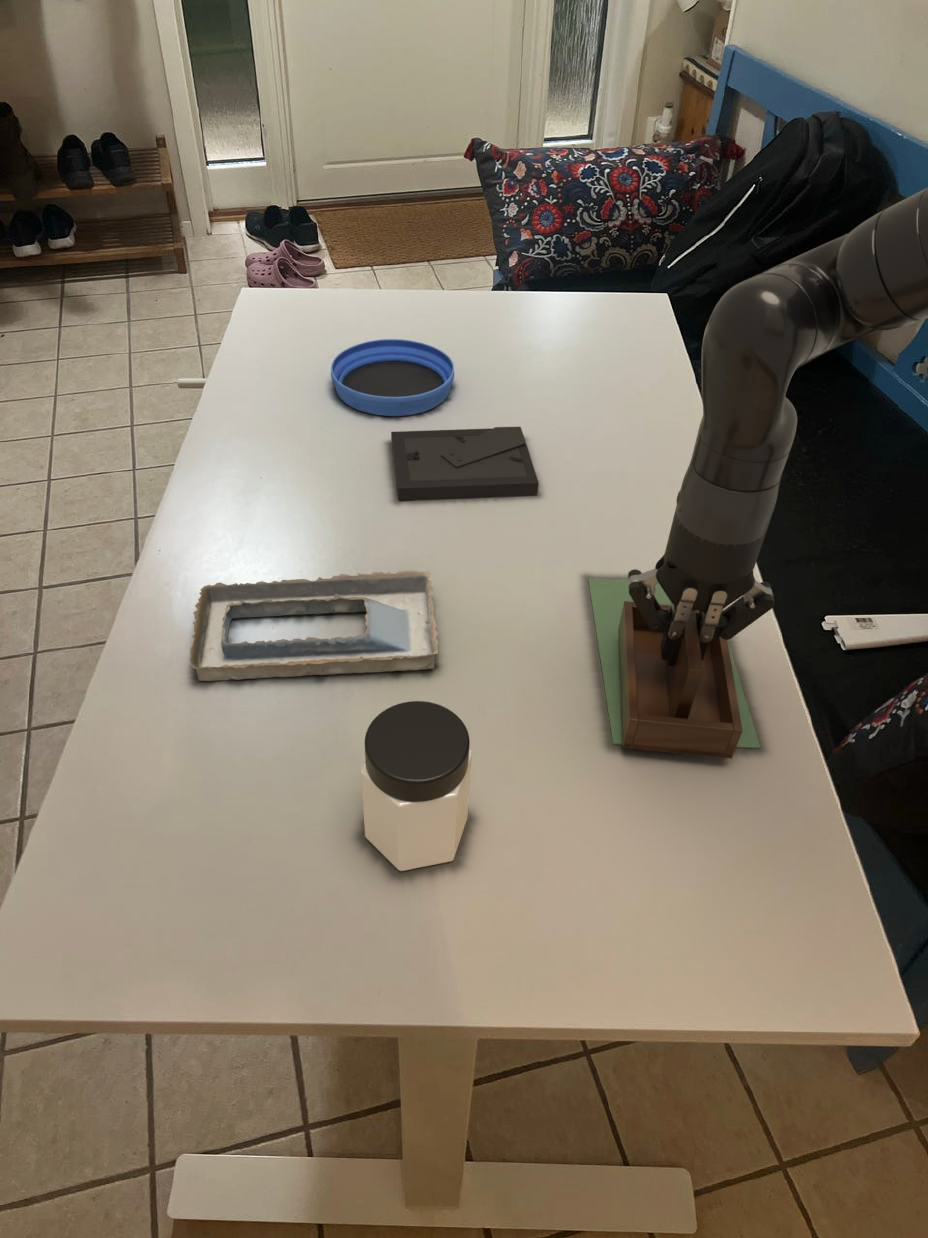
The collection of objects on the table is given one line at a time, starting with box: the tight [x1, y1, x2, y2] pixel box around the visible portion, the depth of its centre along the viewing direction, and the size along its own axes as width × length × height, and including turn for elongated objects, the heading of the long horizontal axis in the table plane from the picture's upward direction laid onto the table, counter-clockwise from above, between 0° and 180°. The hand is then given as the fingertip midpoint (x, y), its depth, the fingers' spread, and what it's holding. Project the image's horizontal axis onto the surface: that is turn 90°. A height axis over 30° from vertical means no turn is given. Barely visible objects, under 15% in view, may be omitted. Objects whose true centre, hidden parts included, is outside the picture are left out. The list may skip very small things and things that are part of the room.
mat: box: [587, 577, 761, 750], centre depth 93 cm, size 24×14×1 cm, turn 0°
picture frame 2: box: [390, 426, 540, 502], centre depth 116 cm, size 13×2×18 cm
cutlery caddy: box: [618, 601, 743, 759], centre depth 84 cm, size 16×10×9 cm, turn 174°
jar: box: [360, 700, 473, 872], centre depth 72 cm, size 9×8×12 cm
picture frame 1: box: [189, 569, 440, 682], centre depth 92 cm, size 13×25×3 cm, turn 97°
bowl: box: [330, 338, 455, 417], centre depth 131 cm, size 18×18×4 cm
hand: (679, 660), depth 85 cm, fingers closed on cutlery caddy, 1 cm apart
